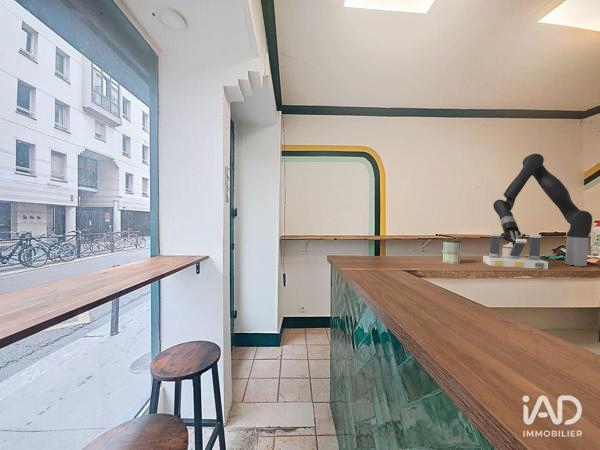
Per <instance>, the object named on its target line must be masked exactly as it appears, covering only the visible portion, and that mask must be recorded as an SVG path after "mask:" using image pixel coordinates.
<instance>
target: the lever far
mask: <svg viewBox="0 0 600 450" xmlns="http://www.w3.org/2000/svg"><path fill="white" fill-rule="evenodd" d="M501 234H502V233H499V232H498V233H496V232H494V233H493V232H492V233H491V232H490V241H489V243H490V244H489V245H490V246H489V254H488V256H489V257H497V258H499V257H501V255H500V244H501V237H500V236H501Z"/></svg>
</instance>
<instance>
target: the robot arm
mask: <svg viewBox="0 0 600 450" xmlns="http://www.w3.org/2000/svg"><path fill="white" fill-rule="evenodd" d="M544 161H545V159H544V156H543V155H542V154H540V153H532V154H529V155H527V156H525V157H524V158H523V159H522V168H521V170H520V172H519V174H517V175H516V177H515V178H514V179H513V180H512V181H511V183H510V184H509V186H508V187H507V188H506V190H505V191H504V193H503V197H504V198H505V199H506V200H504V199H497V200H494V202H493V205H492V206H493V210H494V211H495V213H496V214H497V216H498V217H499V220H500V224H501V228H502V230H503V232H502V233H500V234H501V235H500V238H502V239H503V240H505V241H506V242H507V243H509V242H512V244H513V246H514V244H515V242H516V239H525V237H526V235H527V234H526V233H522V232H521V231H520V229H519V226H518V223H517V221H516V219H515V217H514V214H513V212H512V209H513V207H514V205H515V202H516V200H517V199H516V198H517V197H518V196H519V194H520V193H521V191H522V190H523V188H525V185H526V184H527V182H528V181H529V180H530V178H531V176H533V178H534V179H535V180H536V182H537V184H538V185H539V186H540V188H541V190H542V191H543V192H544V193H545V194H546V195H547V197H548V198H549V199H550V200H551V202H553V204H554V205H555V206H556V207H557V209H559V211H560V212H561V214H562V215H563V217H564V219H565V220H566V222H567V223H568V224H569V225H570V227H569V230H568V231H567V232H566V244H565V257H564V258H565V259H564V265H566V264H567V266H571V265H574V266H573V267H581V266H586V267H587V264H588V254H589V239H590V235H591V232H592V227H593V216H592V214H591V213H590V212H589V211H586V210H582V209H579V207H577V206H576V204H575V203H574V202H573V200H572V199H571V195H570V192H569V190H568V188H567V187H566V186H565V185H564V184H563V183H562V181H561V180H560V179H559V178H557V177H556V176H555V175H554V174H552V173H551V172H549V170H548V169H547V168H546V167H545V165H544ZM519 237H520V238H519Z"/></svg>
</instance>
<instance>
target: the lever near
mask: <svg viewBox="0 0 600 450" xmlns="http://www.w3.org/2000/svg"><path fill="white" fill-rule="evenodd" d="M541 237H542V234H532V233H531V234H529V250H528V255H527V258H528V259H535V260H541V256H540V254H541V240H542V239H541Z"/></svg>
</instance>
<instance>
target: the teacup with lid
mask: <svg viewBox="0 0 600 450" xmlns="http://www.w3.org/2000/svg"><path fill="white" fill-rule="evenodd" d="M501 247H502V254H501V257H508V255H509V254H510V252H511V250H512V248H513V244H512V242H508V243H507V244H503V245H502V246H501Z"/></svg>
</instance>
